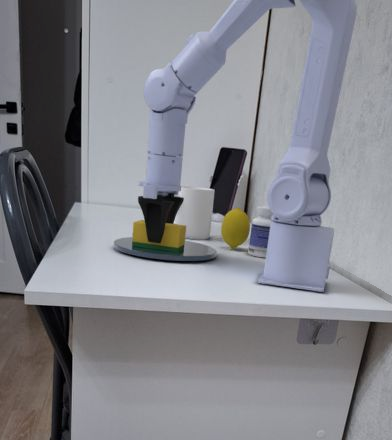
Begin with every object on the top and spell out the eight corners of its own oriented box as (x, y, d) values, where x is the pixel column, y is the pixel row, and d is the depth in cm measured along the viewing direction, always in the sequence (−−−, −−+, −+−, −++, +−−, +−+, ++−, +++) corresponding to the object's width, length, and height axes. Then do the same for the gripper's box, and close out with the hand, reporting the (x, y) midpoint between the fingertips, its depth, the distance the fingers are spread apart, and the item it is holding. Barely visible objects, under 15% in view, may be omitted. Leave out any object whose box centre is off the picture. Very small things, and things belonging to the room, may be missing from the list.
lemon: (236, 246, 111) (241, 206, 108) (252, 251, 106) (258, 210, 104) (213, 246, 108) (218, 205, 105) (229, 251, 103) (234, 208, 101)
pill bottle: (274, 259, 100) (281, 210, 97) (246, 255, 101) (252, 206, 98) (276, 255, 105) (283, 208, 102) (249, 251, 106) (255, 204, 103)
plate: (223, 252, 103) (224, 245, 102) (204, 268, 86) (205, 260, 85) (132, 239, 106) (133, 233, 105) (97, 253, 89) (97, 245, 88)
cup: (217, 239, 117) (222, 190, 113) (170, 240, 110) (174, 188, 106) (194, 233, 123) (199, 186, 120) (149, 233, 116) (152, 183, 113)
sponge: (184, 249, 94) (186, 225, 93) (177, 252, 90) (180, 228, 88) (140, 242, 95) (141, 219, 94) (131, 246, 91) (133, 222, 90)
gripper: (154, 154, 95) (148, 232, 100) (126, 151, 82) (121, 242, 86) (193, 158, 94) (185, 237, 98) (171, 156, 80) (164, 248, 85)
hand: (158, 240), depth 92 cm, fingers closed on sponge, 4 cm apart
